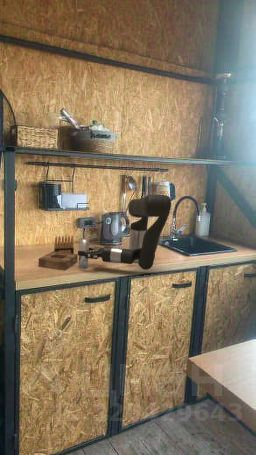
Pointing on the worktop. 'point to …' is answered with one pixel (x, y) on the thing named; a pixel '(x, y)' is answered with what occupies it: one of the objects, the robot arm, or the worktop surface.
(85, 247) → the steel pin
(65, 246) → the ammunition clip
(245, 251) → the worktop surface
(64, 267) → the walnut socket block
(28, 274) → the worktop surface
